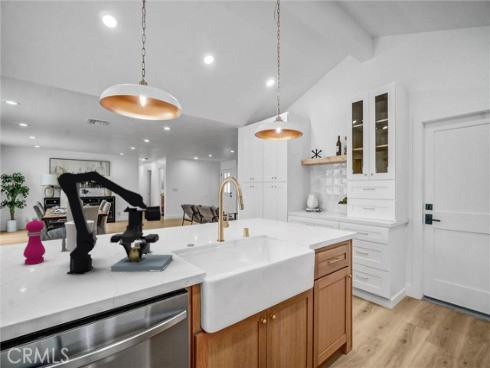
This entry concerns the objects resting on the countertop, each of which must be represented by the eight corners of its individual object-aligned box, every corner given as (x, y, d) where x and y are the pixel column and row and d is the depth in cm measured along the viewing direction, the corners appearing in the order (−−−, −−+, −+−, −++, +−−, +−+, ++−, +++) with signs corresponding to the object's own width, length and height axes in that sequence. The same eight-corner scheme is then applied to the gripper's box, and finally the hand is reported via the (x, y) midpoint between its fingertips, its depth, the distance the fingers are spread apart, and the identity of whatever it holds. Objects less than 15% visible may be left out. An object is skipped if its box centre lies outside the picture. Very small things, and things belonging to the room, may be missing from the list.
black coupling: (131, 255, 118) (132, 245, 118) (138, 251, 125) (138, 241, 125) (146, 255, 118) (146, 245, 118) (151, 251, 125) (152, 241, 125)
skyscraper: (67, 248, 130) (68, 196, 130) (84, 247, 133) (85, 196, 133) (60, 252, 122) (61, 197, 122) (79, 251, 125) (80, 197, 125)
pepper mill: (20, 263, 104) (20, 217, 104) (40, 259, 110) (41, 215, 110) (27, 266, 100) (28, 218, 101) (48, 261, 107) (49, 216, 107)
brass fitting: (127, 263, 101) (127, 249, 101) (131, 260, 106) (132, 246, 106) (137, 263, 101) (138, 249, 102) (142, 260, 106) (142, 246, 106)
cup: (78, 268, 99) (79, 224, 99) (57, 266, 101) (58, 223, 101) (99, 260, 109) (99, 220, 109) (79, 258, 111) (80, 220, 111)
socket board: (111, 271, 95) (111, 266, 95) (129, 258, 111) (129, 254, 111) (161, 271, 96) (161, 266, 96) (172, 258, 112) (172, 254, 112)
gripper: (103, 225, 95) (102, 264, 95) (150, 225, 96) (149, 264, 96) (117, 220, 107) (116, 256, 106) (159, 221, 107) (159, 256, 107)
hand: (134, 258), depth 104 cm, fingers closed on brass fitting, 4 cm apart
